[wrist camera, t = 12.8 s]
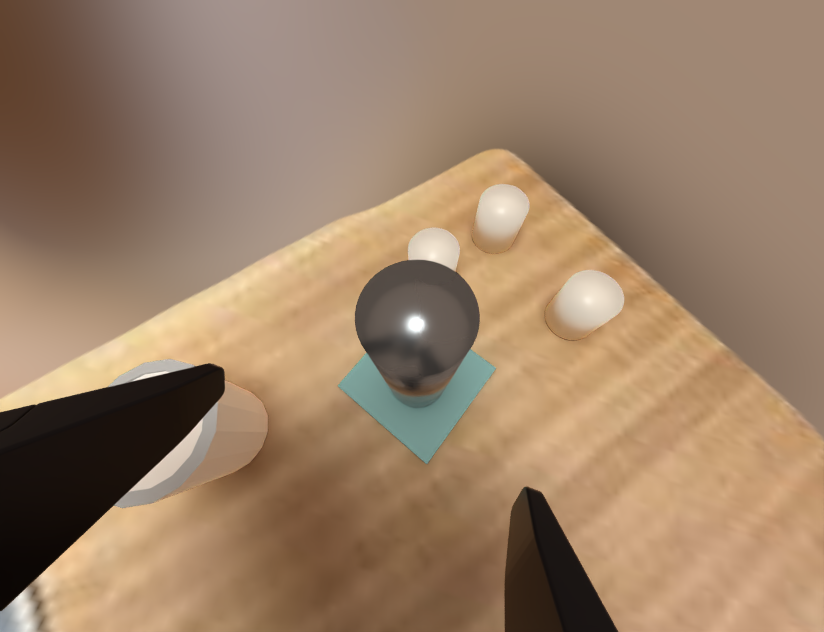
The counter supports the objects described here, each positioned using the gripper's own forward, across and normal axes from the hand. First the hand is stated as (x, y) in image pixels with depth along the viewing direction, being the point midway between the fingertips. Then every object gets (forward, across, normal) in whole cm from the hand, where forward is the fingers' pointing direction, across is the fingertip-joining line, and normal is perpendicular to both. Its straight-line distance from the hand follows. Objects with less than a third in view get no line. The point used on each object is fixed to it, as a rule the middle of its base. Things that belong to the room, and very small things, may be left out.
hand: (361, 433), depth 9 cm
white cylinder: (+7, +11, +12) cm, 18 cm away
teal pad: (+12, 0, +7) cm, 14 cm away
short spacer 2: (+18, -9, +1) cm, 21 cm away
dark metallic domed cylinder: (+12, 0, +6) cm, 14 cm away
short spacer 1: (+18, +2, +1) cm, 18 cm away
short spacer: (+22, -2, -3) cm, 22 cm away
